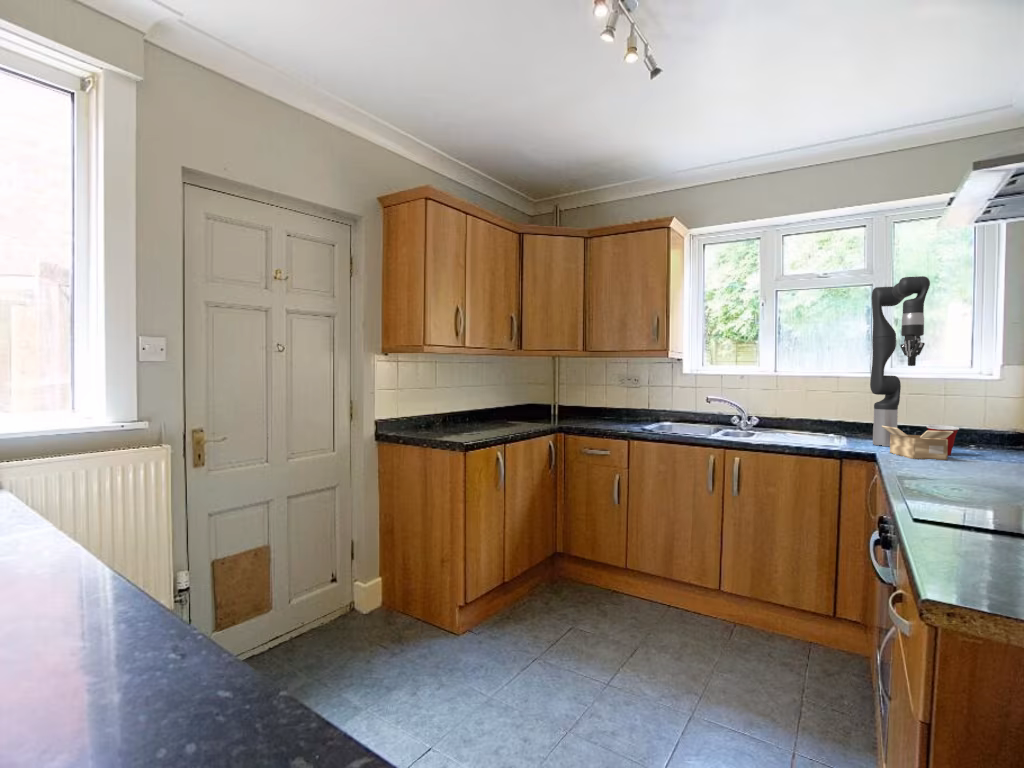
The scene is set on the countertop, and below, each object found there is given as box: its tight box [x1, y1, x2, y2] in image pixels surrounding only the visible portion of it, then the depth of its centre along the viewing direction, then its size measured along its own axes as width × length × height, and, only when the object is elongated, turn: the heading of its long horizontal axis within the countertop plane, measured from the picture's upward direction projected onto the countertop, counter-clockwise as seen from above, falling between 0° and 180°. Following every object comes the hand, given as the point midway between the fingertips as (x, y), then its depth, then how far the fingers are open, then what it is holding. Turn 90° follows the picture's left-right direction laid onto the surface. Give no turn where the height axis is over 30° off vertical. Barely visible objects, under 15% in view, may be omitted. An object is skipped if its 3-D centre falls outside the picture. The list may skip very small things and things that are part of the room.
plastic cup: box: [926, 424, 960, 457], centre depth 221 cm, size 11×11×12 cm
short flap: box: [920, 430, 953, 439], centre depth 202 cm, size 9×5×1 cm
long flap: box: [882, 426, 909, 437], centre depth 214 cm, size 11×5×1 cm
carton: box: [889, 434, 948, 461], centre depth 213 cm, size 16×12×8 cm
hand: (911, 365), depth 221 cm, fingers closed
